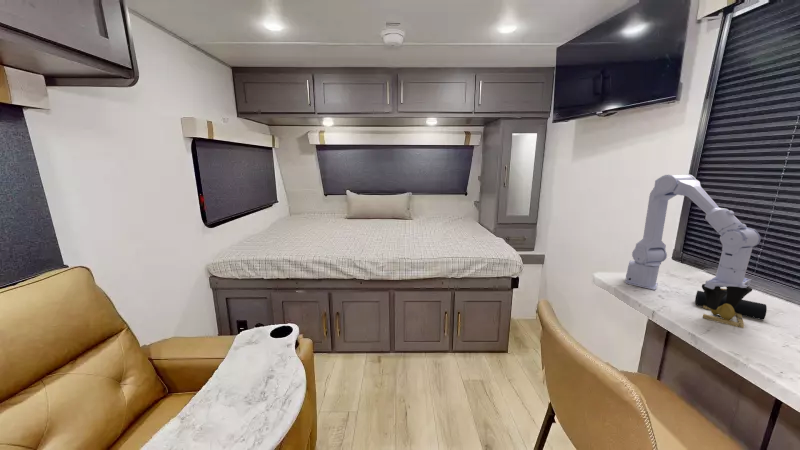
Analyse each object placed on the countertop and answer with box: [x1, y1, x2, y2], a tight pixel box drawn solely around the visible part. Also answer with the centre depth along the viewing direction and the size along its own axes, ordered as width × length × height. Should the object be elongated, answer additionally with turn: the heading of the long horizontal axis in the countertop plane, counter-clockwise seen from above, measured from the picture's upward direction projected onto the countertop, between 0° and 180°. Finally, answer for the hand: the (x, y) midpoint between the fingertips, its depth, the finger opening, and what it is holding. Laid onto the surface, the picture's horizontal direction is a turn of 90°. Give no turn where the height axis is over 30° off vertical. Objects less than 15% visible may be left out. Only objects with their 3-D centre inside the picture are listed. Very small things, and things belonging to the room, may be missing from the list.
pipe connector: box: [694, 287, 768, 321], centre depth 99 cm, size 12×5×15 cm
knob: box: [710, 304, 735, 321], centre depth 93 cm, size 5×5×5 cm
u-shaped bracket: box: [702, 305, 745, 329], centre depth 93 cm, size 8×10×1 cm
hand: (721, 307), depth 93 cm, fingers open, 7 cm apart
